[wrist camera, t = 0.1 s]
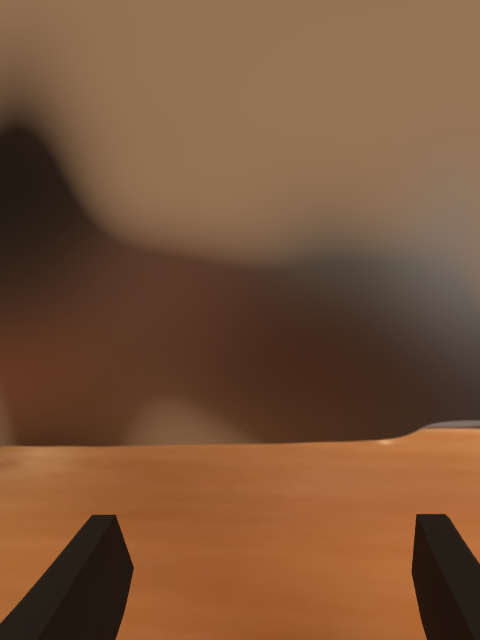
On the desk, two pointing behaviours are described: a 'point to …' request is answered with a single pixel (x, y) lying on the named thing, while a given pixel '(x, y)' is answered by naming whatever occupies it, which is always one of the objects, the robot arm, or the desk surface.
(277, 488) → the desk surface
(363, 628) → the desk surface
